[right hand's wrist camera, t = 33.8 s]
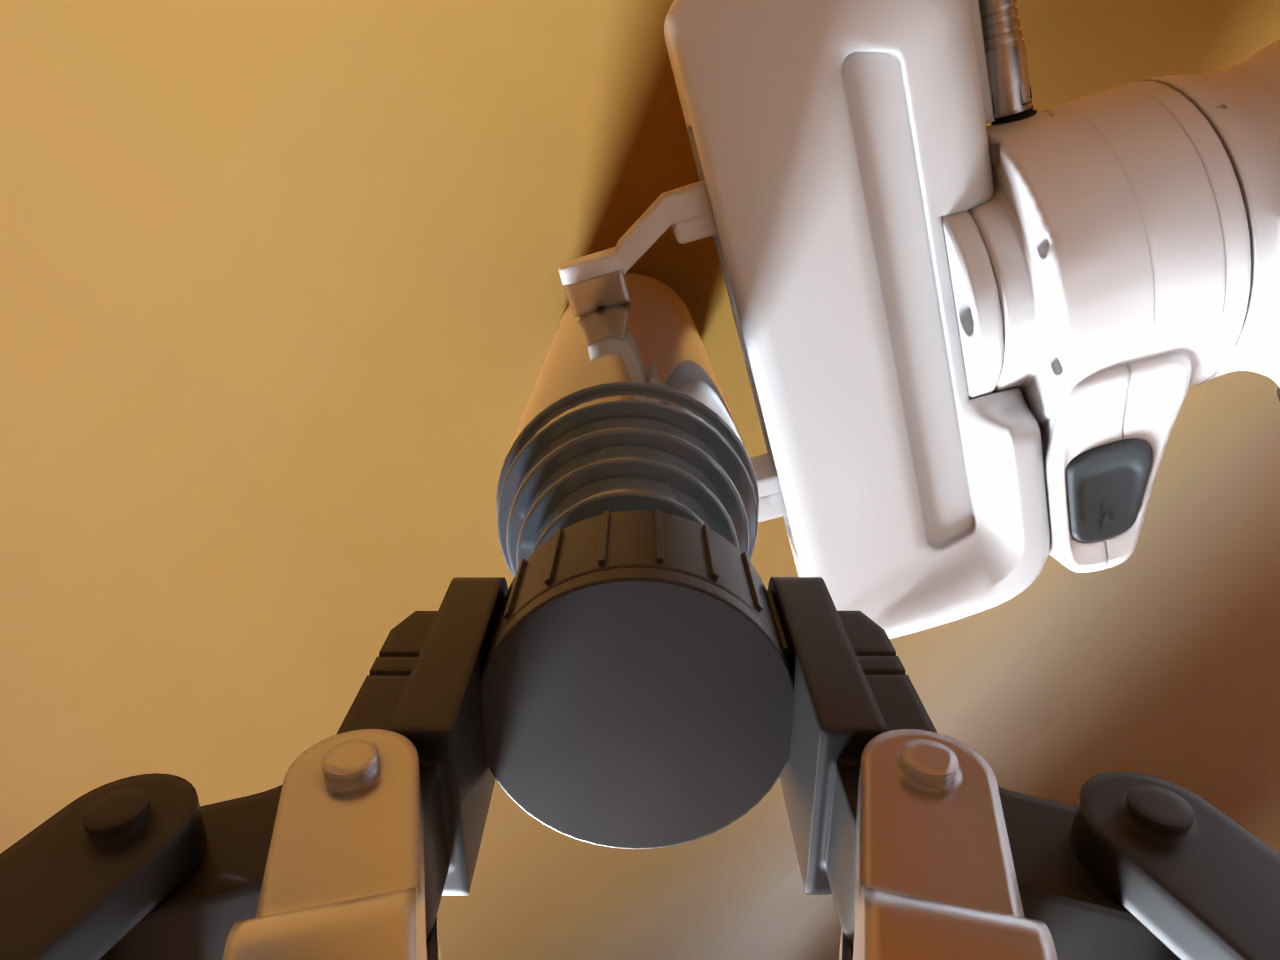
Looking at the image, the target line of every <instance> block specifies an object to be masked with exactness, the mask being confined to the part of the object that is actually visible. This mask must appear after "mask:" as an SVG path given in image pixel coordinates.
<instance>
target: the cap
mask: <svg viewBox="0 0 1280 960" xmlns="http://www.w3.org/2000/svg"><path fill="white" fill-rule="evenodd" d="M787 653H789V647H788V644H787V641H786V638H785V634H784V631H783V628H782V625H781V621H780V618H779V615H778V612H777V608H776V605H775V602H774V599H773V595H772V592H771V590H768V591H766V589H765V586H764V584H763V582H762V580H761V578H760V576H759V575H758V573H757V572H756V570H755V569H754V567H753V566H752V564H751V563H750V559H749V556H748V554H747V553H746V552H743V553H741V552H740V551H739V549H737V548H736V547H735V546H734V545H733V544H731V543H730V542H729V541H728V540H727V539H725V538H724V537H722V536H721V535H719V534H718V533H716V532H715V531H713V530H711V529H710V525H708V524H706V523H704V525H701V524H699V523H697V522H695V521H692V520H689V519H686V518H683V517H680V516H677V515H673V514H667V513H662V512H661V510H659V509H655V511H642V510H633V511H618V512H612V513H610V512H609V511H604V512H603V514H601V515H598V516H594V517H591V518H588V519H585V520H582V521H580V522H577V523H575V524H573V525H571V526H568V527H566V528H565V529H563V530H562V528H559V529H557V530H556V533H555V535H553V536H552V537H550V538H549V539H548V540H547V541H545V542H544V543H543V544H542V545H540V546H539V547H538V548H537V549H536V550H535V551H534V552H533V553H532V554H531V555H530V556H529V557H528V559H527V560H525V559H524V558H523V559H522V560H521V561H520V564H519V567H518V570H517V574H516V575H515V577H514V579H513V581H512V583H511V585H510V587H509V589H508V592H507V595H506V598H505V600H504V603H503V606H502V610H501V613H500V616H499V619H498V623H497V626H496V629H495V632H494V635H493V639H492V642H491V645H490V648H489V651H488V655H487V659H486V662H485V665H484V668H483V672H482V675H481V692H482V705H483V718H484V731H485V744H486V757H487V764H488V766H489V768H490V770H491V772H492V774H493V775H494V777H495V778H496V780H497V781H498V783H499V784H500V786H501V787H502V788H503V790H504V791H505V792H506V793H507V794H508V795H509V796H510V798H511V799H512V800H513V801H514V802H515V803H516V804H518V805H519V806H520V807H521V808H522V809H523V810H524V811H526V812H527V813H528V814H529V815H531V816H532V817H534V818H535V819H537V820H538V821H540V822H541V823H543V824H544V825H546V826H548V827H550V828H552V829H554V830H556V831H558V832H559V833H562V834H565V835H567V836H570V837H572V838H575V839H577V840H581V841H584V842H588V843H592V844H595V845H601V846H607V847H613V848H625V849H650V848H660V847H667V846H674V845H678V844H682V843H686V842H690V841H694V840H696V839H699V838H702V837H704V836H707V835H710V834H712V833H714V832H716V831H718V830H720V829H722V828H724V827H726V826H728V825H730V824H731V823H733V822H734V821H736V820H737V819H739V818H740V817H742V816H743V815H745V814H746V813H747V812H748V811H749V810H750V809H752V808H753V807H754V806H755V805H756V804H758V803H759V802H760V800H761V799H762V798H763V797H764V796H765V795H766V794H767V793H768V792H769V791H770V789H771V788H772V787H773V785H774V784H775V782H776V781H777V779H778V778H779V777H780V775H781V773H782V771H783V769H784V767H785V765H786V763H787V761H788V759H789V748H790V735H791V722H792V708H793V695H794V681H793V677H792V674H791V670H790V667H789V664H788V660H787V657H786V654H787Z"/></svg>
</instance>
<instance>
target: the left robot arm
mask: <svg viewBox="0 0 1280 960" xmlns="http://www.w3.org/2000/svg"><path fill="white" fill-rule="evenodd" d="M1016 5H1017V2H1016V0H673V2H672V4H671V6H670V9H669V11H668V13H667V15H666V18H665V21H664V38H665V42H666V46H667V50H668V55H669V59H670V63H671V67H672V71H673V75H674V79H675V83H676V87H677V91H678V95H679V99H680V103H681V107H682V111H683V115H684V119H685V123H686V127H687V131H688V135H689V139H690V143H691V147H692V151H693V155H694V159H695V163H696V167H697V171H698V175H699V179H700V181H699V182H695V183H692V184H689V185H686V186H683V187H679V188H676V189H673V190H670V191H667V192H663V193H662V194H661V195H660V196H659V197H658V198H657V199H656V200H655V201H654V202H653V203H652V204H651V206H650V207H649V208H648V209H647V210H646V211H645V212H644V213H643V214H642V215H641V216H640V217H639V219H638V220H637V221H636V222H635V223H634V224H633V225H632V226H631V227H630V228H629V229H628V231H627V232H626V233H625V234H624V235H623V236H622V237H621V238H620V239H619V240H618V241H617V245H616V247H613V248H609V249H606V250H603V251H599V252H596V253H593V254H589V255H586V256H583V257H579V258H576V259H573V260H571V261H568V262H566V263H563V264H561V265H560V267H559V268H558V270H559V274H560V277H561V281H562V284H563V287H564V290H565V292H566V295H567V298H568V301H569V304H570V307H571V310H572V313H573V316H574V317H578V316H584V315H587V314H589V313H592V312H594V311H595V310H596V309H597V308H598V307H599V305H601V306H604V307H606V308H607V307H612V306H618V305H621V304H625V303H628V302H630V296H631V291H630V288H629V284H628V280H627V276H626V272H627V271H628V270H629V269H630V268H631V267H632V266H633V265H634V264H635V263H636V261H637V260H638V259H639V258H640V257H641V256H642V255H643V254H644V253H645V252H646V251H647V250H648V249H649V248H650V247H651V246H652V245H653V244H654V242H655V241H656V240H657V239H658V238H659V237H660V236H661V235H662V234H663V233H664V232H665V231H666V230H667V229H668V228H669V227H670V226H671V225H672V228H673V231H674V235H675V237H676V240H677V242H679V243H681V244H684V243H687V242H691V241H695V240H698V239H702V238H705V237H709V236H712V235H713V236H714V240H715V244H716V248H717V252H718V256H719V260H720V264H721V268H722V272H723V276H724V280H725V284H726V288H727V292H728V296H729V300H730V304H731V308H732V312H733V316H734V320H735V324H736V328H737V332H738V336H739V340H740V344H741V348H742V352H743V356H744V360H745V364H746V368H747V372H748V376H749V380H750V384H751V388H752V392H753V396H754V400H755V404H756V408H757V412H758V416H759V420H760V424H761V428H762V433H763V437H764V441H765V445H766V449H767V454H763V455H760V456H756V457H753V458H750V460H751V463H752V465H753V468H754V471H755V475H756V479H757V484H758V493H759V513H758V522H762V521H765V520H769V519H773V518H777V517H781V516H783V517H784V521H785V525H786V529H787V533H788V537H789V541H790V545H791V549H792V553H793V557H794V561H795V565H796V569H797V573H798V577H822V578H823V580H824V582H825V584H826V586H827V589H828V591H829V593H830V596H831V598H832V600H833V603H834V605H835V607H836V609H837V611H861V612H862V613H864V614H865V615H866V616H867V617H869V618H870V619H871V620H873V621H874V622H875V623H876V624H878V625H879V626H880V627H881V628H883V629H884V630H885V632H886V634H887V636H888V638H889V639H892V638H896V637H900V636H904V635H908V634H911V633H915V632H918V631H922V630H926V629H929V628H933V627H936V626H939V625H942V624H946V623H949V622H952V621H956V620H959V619H962V618H965V617H967V616H970V615H973V614H976V613H979V612H982V611H985V610H987V609H990V608H993V607H995V606H997V605H1000V604H1002V603H1004V602H1006V601H1008V600H1010V599H1012V598H1013V597H1015V596H1016V595H1018V594H1020V593H1021V592H1022V591H1024V590H1025V589H1026V588H1027V587H1028V586H1029V585H1031V584H1032V583H1033V581H1034V580H1035V579H1036V578H1037V577H1038V575H1039V574H1040V572H1041V571H1042V569H1043V567H1044V565H1045V563H1046V560H1047V557H1048V554H1050V555H1051V556H1052V557H1053V558H1055V559H1056V560H1057V561H1059V562H1060V563H1061V564H1062V565H1064V566H1065V567H1067V568H1068V569H1069V570H1071V571H1074V572H1079V573H1087V572H1094V571H1099V570H1104V569H1108V568H1111V567H1114V566H1117V565H1119V564H1121V563H1123V562H1124V561H1125V560H1127V559H1128V558H1129V557H1130V556H1131V554H1132V553H1133V551H1134V549H1135V547H1136V545H1137V543H1138V540H1139V537H1140V533H1141V530H1142V526H1143V523H1144V519H1145V515H1146V511H1147V507H1148V504H1149V500H1150V496H1151V493H1152V489H1153V486H1154V482H1155V479H1156V475H1157V472H1158V469H1159V465H1160V462H1161V459H1162V456H1163V453H1164V450H1165V447H1166V444H1167V441H1168V439H1169V436H1170V433H1171V430H1172V428H1173V425H1174V422H1175V420H1176V418H1177V415H1178V413H1179V410H1180V408H1181V406H1182V403H1183V401H1184V399H1185V396H1186V394H1187V390H1188V387H1191V386H1194V385H1198V384H1201V383H1204V382H1206V381H1208V380H1211V379H1213V378H1215V377H1218V376H1221V375H1224V374H1226V373H1229V372H1234V371H1251V372H1256V373H1259V374H1262V375H1264V376H1267V377H1268V378H1270V379H1272V380H1273V381H1274V382H1275V383H1276V384H1277V385H1278V390H1277V393H1278V398H1279V401H1280V40H1278V41H1276V42H1274V43H1272V44H1270V45H1269V46H1267V47H1265V48H1264V49H1262V50H1260V51H1259V52H1257V53H1255V54H1254V55H1252V56H1251V57H1249V58H1248V59H1246V60H1244V61H1243V62H1241V63H1239V64H1237V65H1235V66H1232V67H1230V68H1228V69H1225V70H1222V71H1219V72H1215V73H1210V74H1204V75H1163V76H1157V77H1151V78H1146V79H1141V80H1137V81H1134V82H1132V83H1128V84H1125V85H1121V86H1118V87H1115V88H1111V89H1108V90H1105V91H1102V92H1098V93H1095V94H1092V95H1088V96H1085V97H1082V98H1078V99H1075V100H1072V101H1068V102H1065V103H1062V104H1058V105H1055V106H1052V107H1047V108H1044V109H1041V110H1033V105H1032V95H1031V86H1030V81H1029V72H1028V63H1027V55H1026V49H1025V44H1024V40H1022V38H1023V35H1022V31H1021V30H1020V29H1019V28H1020V22H1019V19H1017V16H1018V10H1017V8H1016V7H1015V6H1016ZM994 119H995V121H994ZM989 122H992V125H990V126H986V123H989Z"/></svg>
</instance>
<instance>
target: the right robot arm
mask: <svg viewBox="0 0 1280 960" xmlns="http://www.w3.org/2000/svg"><path fill="white" fill-rule="evenodd" d="M768 590H771V592H772V595H773V599H774V602H775V605H776V608H777V612H778V615H779V618H780V621H781V625H782V628H783V631H784V634H785V638H786V641H787V644H788V647H789V653H787V654H786V657H787V660H788V664H789V667H790V670H791V674H792V677H793V681H794V695H793V708H792V722H791V735H790V748H789V759H788V761H787V763H786V765H785V767H784V769H783V771H782V773H781V775H780V780H781V785H782V789H783V794H784V798H785V803H786V807H787V812H788V816H789V821H790V825H791V830H792V834H793V838H794V843H795V847H796V852H797V856H798V861H799V865H800V870H801V874H802V879H803V883H804V888H805V892H806V894H832V895H833V899H834V903H835V907H836V910H837V914H838V918H839V922H840V924H841V927H842V931H841V939H840V952H839V960H1280V854H1279V853H1277V852H1276V851H1275V850H1273V849H1272V848H1271V847H1269V846H1268V845H1266V844H1265V843H1264V842H1262V841H1261V840H1260V839H1258V838H1257V837H1255V836H1254V835H1253V834H1251V833H1250V832H1249V831H1247V830H1246V829H1244V828H1243V827H1242V826H1240V825H1239V824H1238V823H1236V822H1235V821H1233V820H1232V819H1231V818H1229V817H1228V816H1226V815H1225V814H1224V813H1222V812H1221V811H1220V810H1218V809H1217V808H1215V807H1214V806H1213V805H1211V804H1210V803H1209V802H1207V801H1206V800H1204V799H1203V798H1201V797H1200V796H1198V795H1197V794H1195V793H1193V792H1191V791H1189V790H1187V789H1185V788H1184V787H1181V786H1179V785H1177V784H1174V783H1172V782H1170V781H1167V780H1164V779H1161V778H1158V777H1155V776H1151V775H1147V774H1142V773H1136V772H1125V771H1115V772H1106V773H1101V774H1098V775H1096V776H1093V777H1091V778H1090V779H1089V780H1087V781H1086V782H1085V783H1084V785H1083V786H1082V787H1081V791H1080V794H1079V798H1078V802H1077V806H1072V805H1068V804H1063V803H1059V802H1054V801H1050V800H1045V799H1041V798H1037V797H1032V796H1028V795H1023V794H1019V793H1016V792H1012V791H1009V790H1006V789H1003V788H1000V787H998V785H997V781H996V778H995V775H994V772H993V771H992V769H991V767H990V765H989V764H988V763H987V762H986V761H985V760H984V758H983V757H981V756H980V755H979V754H978V753H977V752H976V751H974V750H973V749H971V748H970V747H968V746H967V745H965V744H963V743H961V742H960V741H958V740H956V739H953V738H951V737H948V736H946V735H942V734H939V733H937V731H936V729H935V727H934V725H933V723H932V721H931V720H930V718H929V716H928V714H927V712H926V710H925V708H924V706H923V704H922V702H921V700H920V698H919V696H918V694H917V692H916V690H915V688H914V686H913V685H912V683H911V681H910V679H909V677H908V675H905V669H904V667H903V665H902V663H901V661H900V659H899V657H898V656H896V651H895V650H894V648H893V646H892V644H891V642H890V640H889V638H888V636H887V634H886V632H885V630H884V629H883V628H881V627H880V626H879V625H878V624H876V623H875V622H874V621H873V620H871V619H870V618H869V617H867V616H866V615H865V614H864V613H862V612H861V611H837V609H836V607H835V605H834V603H833V600H832V598H831V596H830V593H829V591H828V589H827V586H826V584H825V582H824V580H823V578H822V577H771V578H770V581H769V586H768ZM507 592H508V588H507V582H506V579H505V578H453V579H452V581H451V583H450V586H449V588H448V590H447V592H446V595H445V597H444V599H443V601H442V604H441V606H440V608H439V611H415V612H414V613H413V614H411V615H410V616H409V617H407V618H406V619H405V620H404V621H402V622H401V623H400V624H398V625H397V626H396V627H395V628H393V629H392V630H391V631H390V633H389V635H388V637H387V639H386V641H385V643H384V645H383V646H382V648H381V650H380V652H379V657H377V658H376V660H375V662H374V664H373V666H372V667H371V669H370V675H369V676H367V677H366V679H365V681H364V683H363V685H362V687H361V688H360V690H359V692H358V694H357V696H356V698H355V700H354V702H353V704H352V706H351V708H350V709H349V711H348V713H347V715H346V717H345V719H344V721H343V723H342V725H341V727H340V729H339V730H338V732H337V734H336V735H334V736H332V737H329V738H327V739H324V740H322V741H320V742H319V743H317V744H315V745H313V746H312V747H310V748H309V749H307V750H306V751H304V752H303V753H302V754H301V755H300V756H299V757H297V758H296V760H295V761H294V762H293V763H292V764H291V766H290V767H289V769H288V771H287V772H286V775H285V778H284V781H283V785H281V786H279V787H276V788H273V789H271V790H268V791H265V792H262V793H258V794H254V795H250V796H246V797H242V798H237V799H233V800H228V801H224V802H219V803H215V804H210V805H206V806H201V807H200V805H199V800H198V796H197V793H196V790H195V788H194V787H193V786H192V784H191V783H189V782H188V781H187V780H185V779H183V778H181V777H178V776H174V775H169V774H143V775H137V776H131V777H128V778H124V779H120V780H117V781H114V782H111V783H108V784H105V785H103V786H101V787H99V788H96V789H94V790H92V791H90V792H88V793H86V794H85V795H83V796H81V797H79V798H78V799H76V800H75V801H73V802H72V803H70V804H69V805H67V806H66V807H65V808H63V809H62V810H60V811H59V812H58V813H56V814H55V815H53V816H52V817H51V818H49V819H48V820H47V821H45V822H44V823H42V824H41V825H40V826H38V827H37V828H36V829H34V830H33V831H31V832H30V833H29V834H27V835H26V836H25V837H23V838H22V839H20V840H19V841H18V842H16V843H15V844H14V845H12V846H11V847H9V848H8V849H7V850H5V851H4V852H3V853H1V854H0V960H441V952H440V939H439V930H438V922H437V912H438V908H439V904H440V900H441V897H442V895H469V891H470V887H471V882H472V878H473V874H474V869H475V865H476V861H477V856H478V852H479V848H480V843H481V839H482V835H483V830H484V826H485V822H486V817H487V813H488V809H489V804H490V800H491V796H492V791H493V787H494V783H495V777H494V775H493V774H492V772H491V770H490V768H489V766H488V764H487V757H486V744H485V731H484V718H483V705H482V692H481V675H482V672H483V668H484V665H485V662H486V659H487V655H488V651H489V648H490V645H491V642H492V639H493V635H494V632H495V629H496V626H497V623H498V619H499V616H500V613H501V610H502V606H503V603H504V600H505V598H506V595H507Z"/></svg>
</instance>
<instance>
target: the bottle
mask: <svg viewBox="0 0 1280 960" xmlns="http://www.w3.org/2000/svg"><path fill="white" fill-rule="evenodd" d="M626 276H627V280H628V284H629V288H630V291H631V296H630V302H628V303H625V304H621V305H618V306H612V307H607V308H606V307H604V306H601V305H599V307H598V308H597V309H596V310H595V311H594V312H592V313H589V314H587V315H584V316H578V317H574V316H573V313H572V310H571V307H570V304H569V305H568V307H567V309H566V311H565V313H564V315H563V317H562V320H561V322H560V325H559V327H558V330H557V332H556V335H555V337H554V339H553V342H552V344H551V347H550V349H549V352H548V354H547V357H546V359H545V362H544V364H543V367H542V369H541V372H540V374H539V376H538V379H537V381H536V384H535V386H534V389H533V391H532V394H531V396H530V399H529V401H528V404H527V406H526V409H525V411H524V413H523V416H522V418H521V421H520V423H519V426H518V428H517V431H516V433H515V436H514V438H513V441H512V443H511V446H510V448H509V450H508V453H507V455H506V458H505V461H504V463H503V466H502V469H501V472H500V476H499V481H498V486H497V497H496V509H497V524H498V536H499V541H500V546H501V550H502V553H503V556H504V558H505V561H506V564H507V566H508V568H509V570H510V572H511V574H512V575H513V577H515V575H516V574H517V570H518V567H519V564H520V561H521V560H522V559H523V558H524V559H525V560H527V559H528V557H529V556H530V555H531V554H532V553H533V552H534V551H535V550H536V549H537V548H538V547H539V546H540V545H542V544H543V543H544V542H545V541H547V540H548V539H549V538H550V537H552V536H553V535H555V533H556V530H557V529H559V528H562V530H563V529H565V528H566V527H568V526H571V525H573V524H575V523H577V522H580V521H582V520H585V519H588V518H591V517H594V516H598V515H601V514H603V512H604V511H609V512H610V513H612V512H618V511H633V510H642V511H655V509H659V510H661V512H662V513H667V514H673V515H677V516H680V517H683V518H686V519H689V520H692V521H695V522H697V523H699V524H701V525H704V523H706V524H708V525H710V529H711V530H713V531H715V532H716V533H718V534H719V535H721V536H722V537H724V538H725V539H727V540H728V541H729V542H730V543H731V544H733V545H734V546H735V547H736V548H737V549H739V551H740V552H741V553H743V552H746V553H747V554H748V556H749V559H751V556H752V553H753V551H754V547H755V542H756V537H757V530H758V513H759V493H758V484H757V479H756V475H755V471H754V468H753V465H752V463H751V460H750V458H749V455H748V453H747V450H746V448H745V445H744V443H743V440H742V438H741V435H740V433H739V431H738V428H737V426H736V423H735V421H734V418H733V416H732V414H731V411H730V409H729V406H728V404H727V401H726V399H725V397H724V394H723V392H722V389H721V387H720V384H719V382H718V379H717V377H716V375H715V372H714V370H713V367H712V365H711V362H710V360H709V358H708V355H707V353H706V350H705V348H704V345H703V343H702V341H701V338H700V336H699V333H698V331H697V328H696V326H695V323H694V321H693V319H692V316H691V314H690V312H689V310H688V308H687V306H686V304H685V303H684V302H683V300H682V299H681V298H680V297H679V296H678V295H677V294H676V293H675V292H674V291H673V290H672V289H671V288H670V287H668V286H667V285H666V284H664V283H662V282H660V281H659V280H657V279H654V278H652V277H649V276H645V275H642V274H635V273H626Z"/></svg>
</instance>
